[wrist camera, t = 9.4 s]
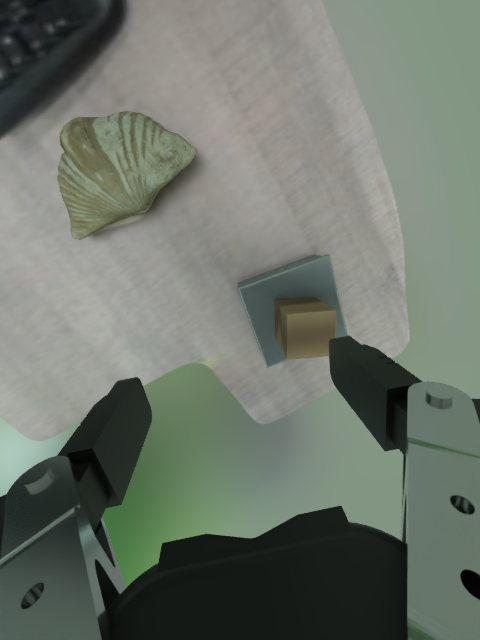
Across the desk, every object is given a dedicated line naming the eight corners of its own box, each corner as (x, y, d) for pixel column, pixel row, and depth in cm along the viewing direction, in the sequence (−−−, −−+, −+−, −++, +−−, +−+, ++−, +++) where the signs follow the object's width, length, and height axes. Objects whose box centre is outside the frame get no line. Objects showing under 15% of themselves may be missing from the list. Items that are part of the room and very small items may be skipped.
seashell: (87, 262, 26) (28, 168, 17) (57, 210, 29) (-7, 106, 20) (201, 220, 31) (200, 132, 23) (166, 179, 34) (153, 86, 26)
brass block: (274, 300, 30) (287, 314, 24) (314, 296, 30) (336, 310, 24) (275, 337, 31) (287, 359, 26) (313, 334, 31) (333, 355, 26)
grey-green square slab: (235, 282, 34) (237, 288, 29) (313, 252, 33) (329, 254, 28) (261, 351, 37) (266, 368, 32) (332, 326, 37) (348, 338, 32)
